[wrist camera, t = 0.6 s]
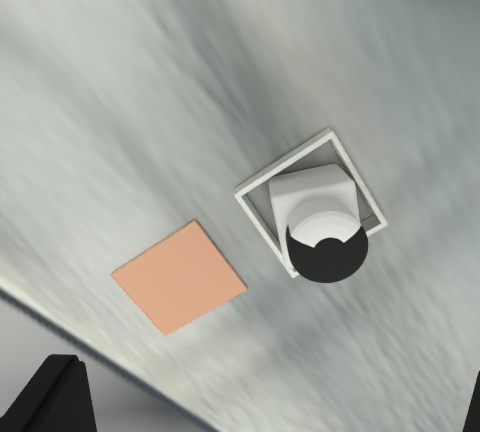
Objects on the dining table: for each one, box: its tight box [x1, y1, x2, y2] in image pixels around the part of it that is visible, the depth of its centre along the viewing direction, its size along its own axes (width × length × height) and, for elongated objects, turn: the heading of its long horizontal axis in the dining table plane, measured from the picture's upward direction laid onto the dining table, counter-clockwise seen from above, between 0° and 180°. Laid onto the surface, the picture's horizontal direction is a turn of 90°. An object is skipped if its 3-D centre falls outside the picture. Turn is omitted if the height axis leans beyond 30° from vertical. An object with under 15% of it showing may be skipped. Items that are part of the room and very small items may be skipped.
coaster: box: [111, 219, 247, 336], centre depth 42 cm, size 12×10×1 cm
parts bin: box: [234, 128, 388, 278], centre depth 37 cm, size 11×11×2 cm
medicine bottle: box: [268, 163, 368, 283], centre depth 33 cm, size 7×7×12 cm
